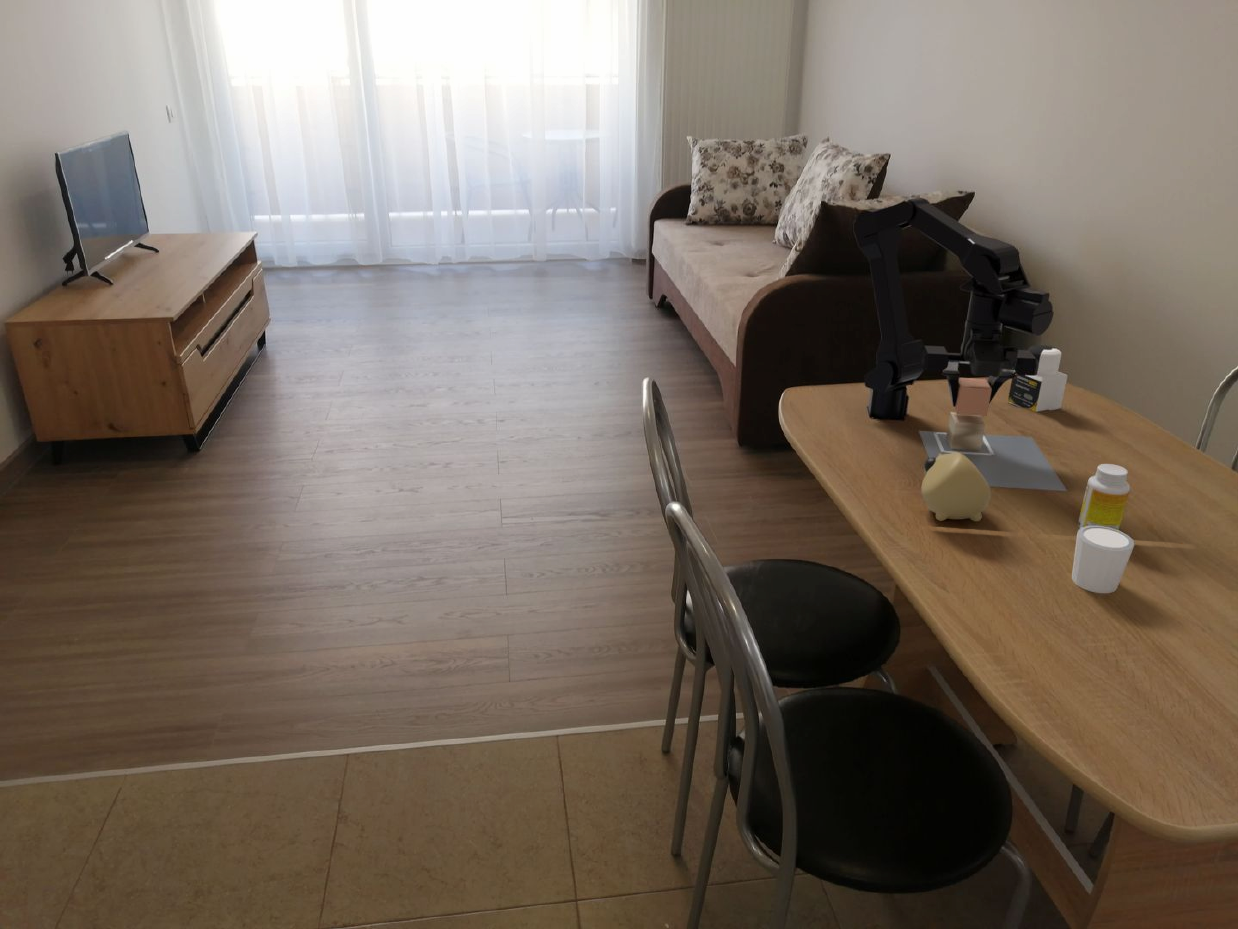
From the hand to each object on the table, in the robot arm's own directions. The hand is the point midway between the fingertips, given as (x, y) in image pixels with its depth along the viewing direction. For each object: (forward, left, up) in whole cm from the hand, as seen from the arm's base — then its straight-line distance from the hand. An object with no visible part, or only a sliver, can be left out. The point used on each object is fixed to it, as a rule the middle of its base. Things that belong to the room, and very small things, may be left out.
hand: (969, 406), depth 164 cm
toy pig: (-7, -27, -8) cm, 29 cm away
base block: (0, 0, -7) cm, 7 cm away
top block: (0, 0, -1) cm, 1 cm away
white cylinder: (+9, -44, -8) cm, 46 cm away
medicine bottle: (+18, +23, -8) cm, 30 cm away
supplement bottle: (+14, -29, -8) cm, 33 cm away
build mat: (+3, -6, -8) cm, 10 cm away
